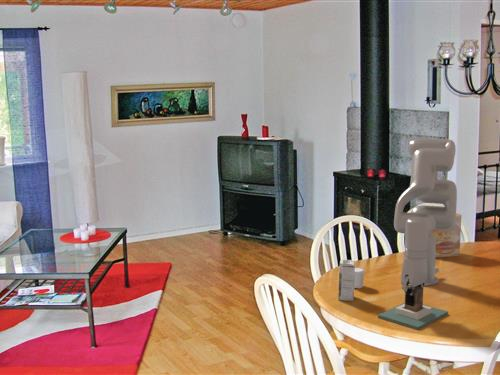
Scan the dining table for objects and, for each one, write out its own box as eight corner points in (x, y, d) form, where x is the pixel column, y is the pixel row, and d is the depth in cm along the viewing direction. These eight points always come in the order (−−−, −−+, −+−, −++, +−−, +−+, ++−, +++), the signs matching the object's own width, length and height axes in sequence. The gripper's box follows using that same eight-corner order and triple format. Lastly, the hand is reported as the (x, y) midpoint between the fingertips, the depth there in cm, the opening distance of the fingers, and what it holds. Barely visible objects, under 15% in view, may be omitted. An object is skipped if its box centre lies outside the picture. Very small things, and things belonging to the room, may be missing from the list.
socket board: (409, 303, 250) (409, 295, 249) (448, 314, 239) (448, 306, 238) (378, 317, 236) (378, 309, 235) (417, 329, 225) (418, 321, 224)
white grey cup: (363, 289, 265) (364, 272, 264) (346, 288, 267) (346, 271, 266) (364, 283, 272) (364, 267, 271) (347, 283, 273) (347, 266, 272)
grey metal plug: (411, 306, 240) (412, 284, 238) (422, 309, 237) (423, 287, 235) (404, 309, 237) (405, 287, 235) (415, 312, 234) (416, 290, 232)
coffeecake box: (430, 258, 307) (432, 216, 303) (423, 254, 314) (424, 213, 310) (460, 255, 311) (462, 214, 307) (451, 251, 317) (453, 211, 314)
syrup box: (338, 295, 259) (339, 259, 256) (354, 296, 258) (355, 259, 255) (338, 300, 253) (338, 263, 251) (354, 301, 252) (354, 264, 250)
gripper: (419, 246, 242) (417, 295, 245) (392, 256, 230) (391, 306, 233) (437, 250, 236) (435, 300, 240) (411, 260, 225) (409, 312, 228)
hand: (413, 302), depth 236 cm, fingers closed on grey metal plug, 4 cm apart
